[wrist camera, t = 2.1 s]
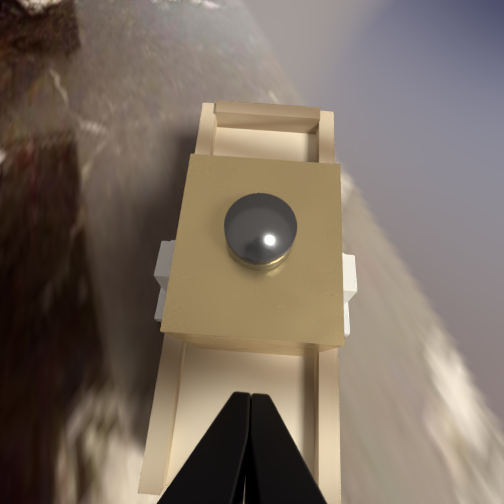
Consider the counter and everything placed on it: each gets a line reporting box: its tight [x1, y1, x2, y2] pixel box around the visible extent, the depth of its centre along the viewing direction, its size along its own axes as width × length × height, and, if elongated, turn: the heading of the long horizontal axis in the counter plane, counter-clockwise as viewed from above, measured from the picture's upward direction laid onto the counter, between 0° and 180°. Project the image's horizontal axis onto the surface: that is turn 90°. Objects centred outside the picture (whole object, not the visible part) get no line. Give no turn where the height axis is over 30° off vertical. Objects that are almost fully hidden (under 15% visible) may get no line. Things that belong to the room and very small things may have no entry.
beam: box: [138, 100, 341, 504], centre depth 20 cm, size 23×10×3 cm, turn 176°
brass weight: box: [160, 154, 345, 357], centre depth 15 cm, size 7×6×9 cm
